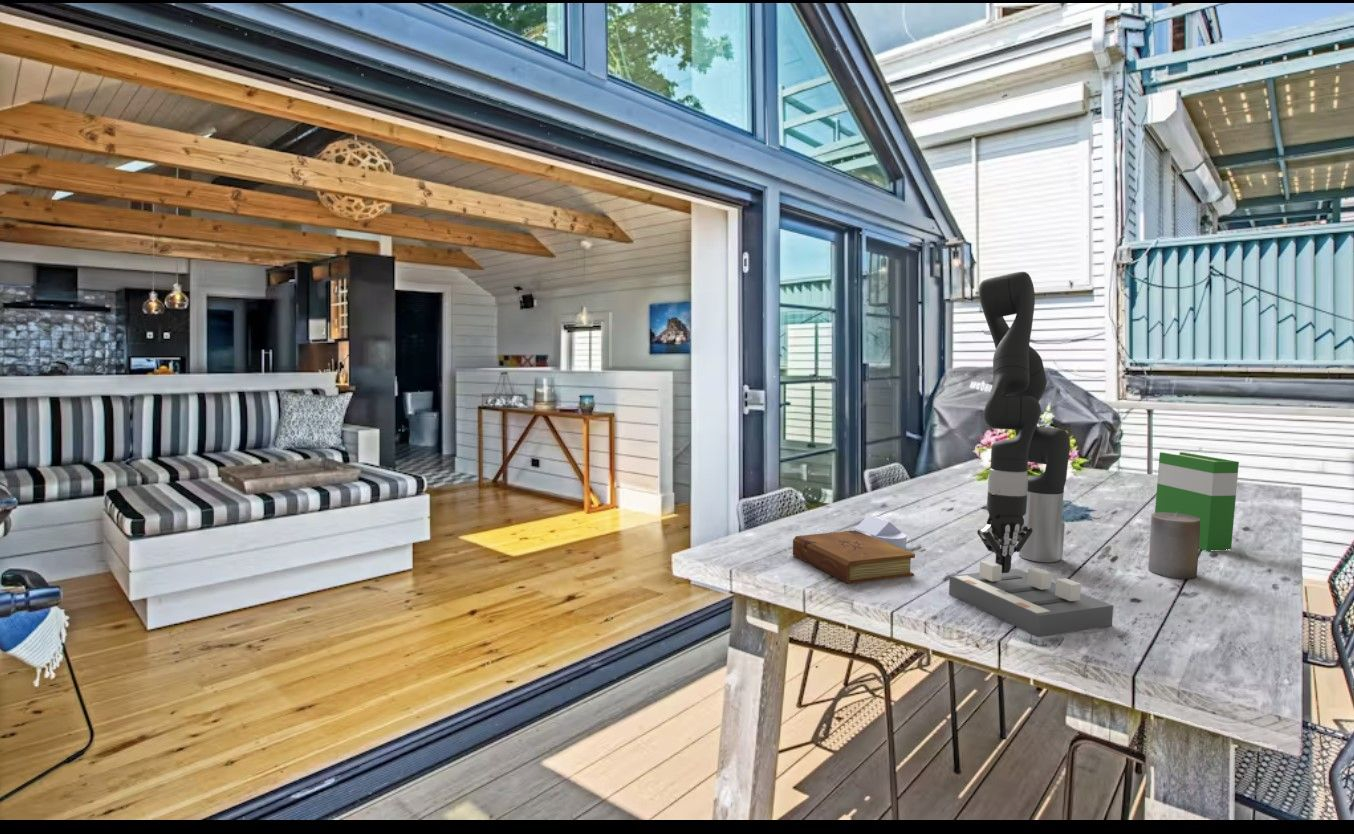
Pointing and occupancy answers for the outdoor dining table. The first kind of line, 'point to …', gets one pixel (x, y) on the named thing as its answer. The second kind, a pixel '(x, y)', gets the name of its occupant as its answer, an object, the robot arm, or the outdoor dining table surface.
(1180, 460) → the hardback book
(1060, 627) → the panel
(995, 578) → the switch tab
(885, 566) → the diary
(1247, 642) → the outdoor dining table surface
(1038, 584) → the switch tab
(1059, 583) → the switch tab
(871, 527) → the wedge on round base
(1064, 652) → the outdoor dining table surface
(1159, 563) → the pillar candle
